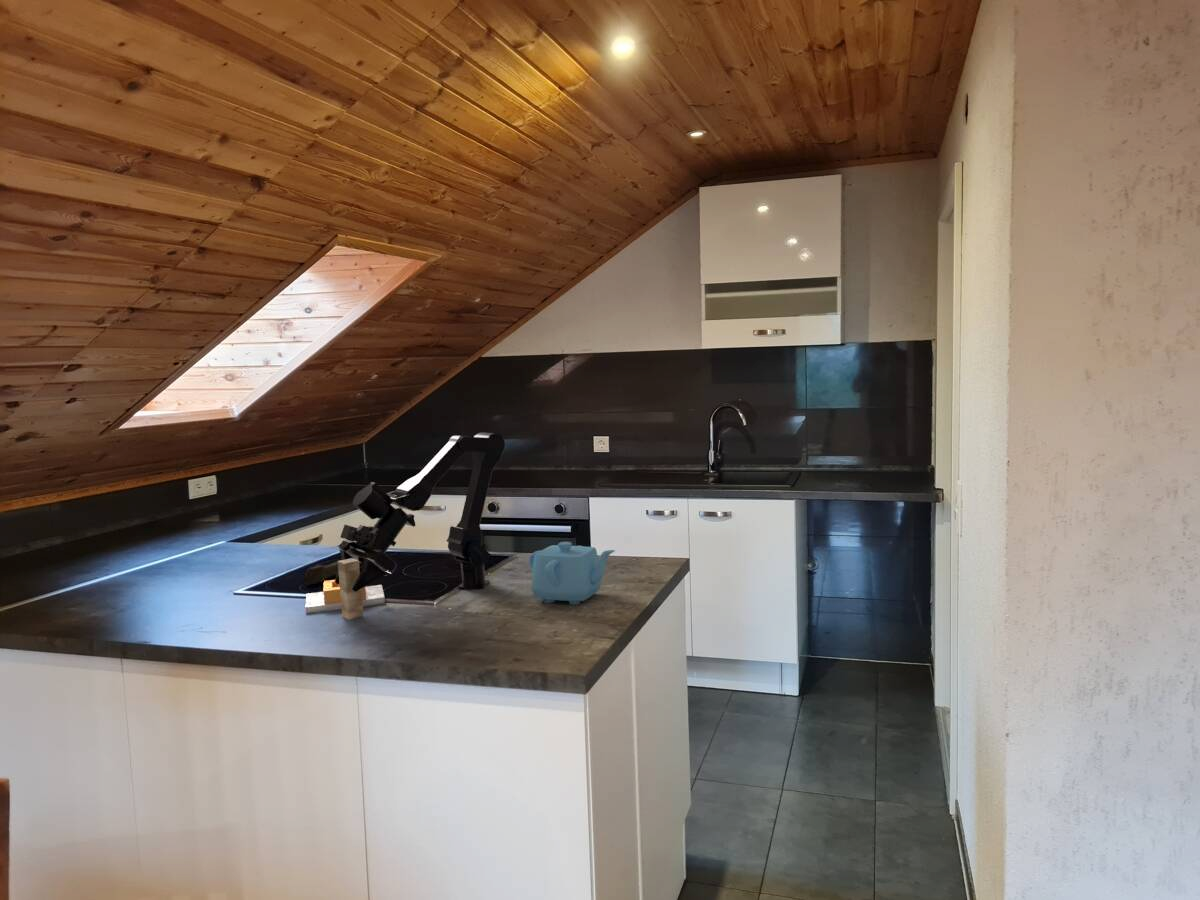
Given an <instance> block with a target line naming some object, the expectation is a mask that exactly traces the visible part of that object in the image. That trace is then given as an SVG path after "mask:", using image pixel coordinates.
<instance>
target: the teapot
mask: <svg viewBox="0 0 1200 900" xmlns="http://www.w3.org/2000/svg"><path fill="white" fill-rule="evenodd" d="M572 544H573V543H572V542H571V541H562V542H559V543H557V544H556V545H555V544H554V545H549V546H548V547H547V546H546V547H545V548H544V549H542V550H537V551H536V550H535V551H534V552H533V553H532V554H531V555H530V556H529V560H528V561H529V566H530V568H531V569H532V570H531V571H532V572H531V590H532V594H533V596H534V598H536V599H543V600H544V601H543V603H545V604H552V603H554V602H556V601H563V602H564V601H567V602H568V604H569V605H572V606H576V605H580V604H581V602H584V601H586V600H587V599H589V598H591V597H592V596H593V595H595V594H596V593H597V592H598V591H599V590H600V588H601V586H602V585H601V584H602V579H603V578H604V576H605V572H606V568H607V560H608V557H609V556H611V554H612V553H615V552H616V549H610V550H604V551H602V552H601V554H600V556H599V557H598V552H597V549H596V547H595V546H593V547H592V546H583V545H572Z"/></svg>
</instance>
